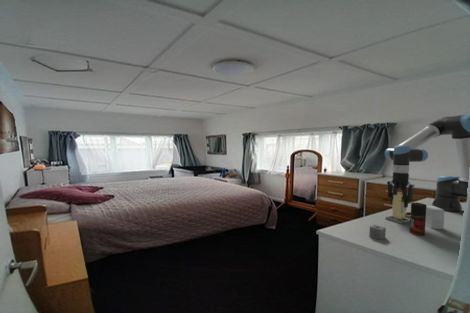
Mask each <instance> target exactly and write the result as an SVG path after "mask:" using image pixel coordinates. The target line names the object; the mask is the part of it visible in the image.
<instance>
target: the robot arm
mask: <svg viewBox="0 0 470 313" xmlns="http://www.w3.org/2000/svg"><path fill="white" fill-rule="evenodd" d="M444 135H445V136H446V135H449V136H450V135H451V139H452V140H454V141H455V143H456V150H457V156H458V157H457V158H458V164H459V170H460V171H459V172H460V175H459V176H457V175H456V176H455V175H443V176H441V175H440V176H438V177H437V180H436V190H435V192H436V193H435V198H434V199H433V201H432V204H431V206H435V207H438V208H440V209H443V210H444V212H445V211H446V212H453V213H454V212H455V213H460V212H462V211H463V207H462V206H463V205H462V204H461V201H460V197H462V198H466V197H467V188H468V180H469V167H470V114H461V115H460V114H459V115H452V116H451V115H450V116H444V117H441V118H438V119H436V120H434V121H432V122H430V123H427V125H425V126H424V127H423V129H422V130H421V131H419V132H417V133H416V134H414V135H412V136H411V137H409V138H408V139H406V140H405V141H402V142H401V143H399V144H398V145H395V146H394V147H391V148H389V147H388V148H386V149H385V151H384V157H385V159H387V160H389V161H390V160H392V161H393V162H392V163H393V164H392V171H393V172H392V180H390V181H386V183H387V198H390V202H391V203H390V204H391V205H392V211H393V195H394V194H398V191H399V189H400V190H401V195H403V199H404V201H403V202H402V213H406V212H407V208H408V207H409V202H410V203H412V202H413V194H414V187H415V184H411V183H410V181H409V179H410V178H409V177H410V176H409V172H410V163H412V162H413V163H414V162H415V163H417V162H418V163H420V162H425V161H426V160H427V159H428V158H429V152H428V151H427V150H426V149H423V148H419V147H420V146H421V147H422V146H423V145H424V144H426V143H427V142H428V141H430V140H431V139H436V138H438V137H440V136H444ZM466 199H467V198H466Z"/></svg>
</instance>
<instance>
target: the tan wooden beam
mask: <svg viewBox="0 0 470 313" xmlns="http://www.w3.org/2000/svg"><path fill="white" fill-rule="evenodd" d="M403 201H404V199H403V194H402V193H401V194H400V193H397V194H394V195H393V205H392V206H393V210H392V216H393V217H392V219H396V220H399V221H404V220H403V219H405V218H406V217H405V213H402V202H403Z"/></svg>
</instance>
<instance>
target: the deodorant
mask: <svg viewBox="0 0 470 313" xmlns="http://www.w3.org/2000/svg"><path fill="white" fill-rule="evenodd" d="M426 206H427V204H425V203H421V202H410V212H411V215H410V218H409V219H410V222H409V233H410V234H412V235H415V236H419V237H420V236H421V237H422V236H425V235H426V225H425V222H426Z"/></svg>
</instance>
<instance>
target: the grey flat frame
mask: <svg viewBox="0 0 470 313" xmlns="http://www.w3.org/2000/svg"><path fill="white" fill-rule="evenodd" d="M410 216H411V211H406V213H405V219H403V220H398V219H395V218H392V217H393V215H389V216H385V220H387V221H391V222H395V223H396V224H399V225H400V224H401V225H404V224H408V223H409V224H410Z"/></svg>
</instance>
